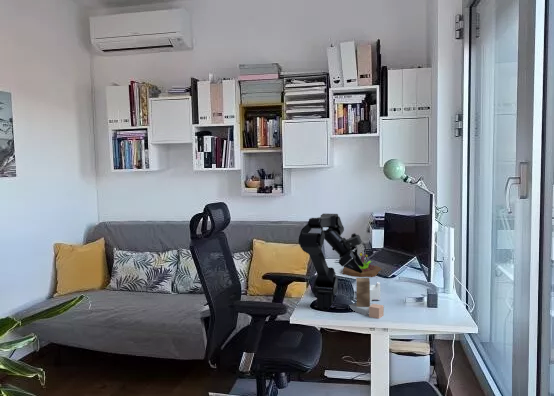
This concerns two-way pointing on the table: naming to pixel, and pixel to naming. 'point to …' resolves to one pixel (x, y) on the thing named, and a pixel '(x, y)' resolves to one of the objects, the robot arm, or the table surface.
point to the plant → (363, 269)
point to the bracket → (375, 292)
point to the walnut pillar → (363, 292)
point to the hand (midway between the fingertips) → (362, 269)
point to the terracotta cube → (376, 311)
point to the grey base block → (360, 308)
